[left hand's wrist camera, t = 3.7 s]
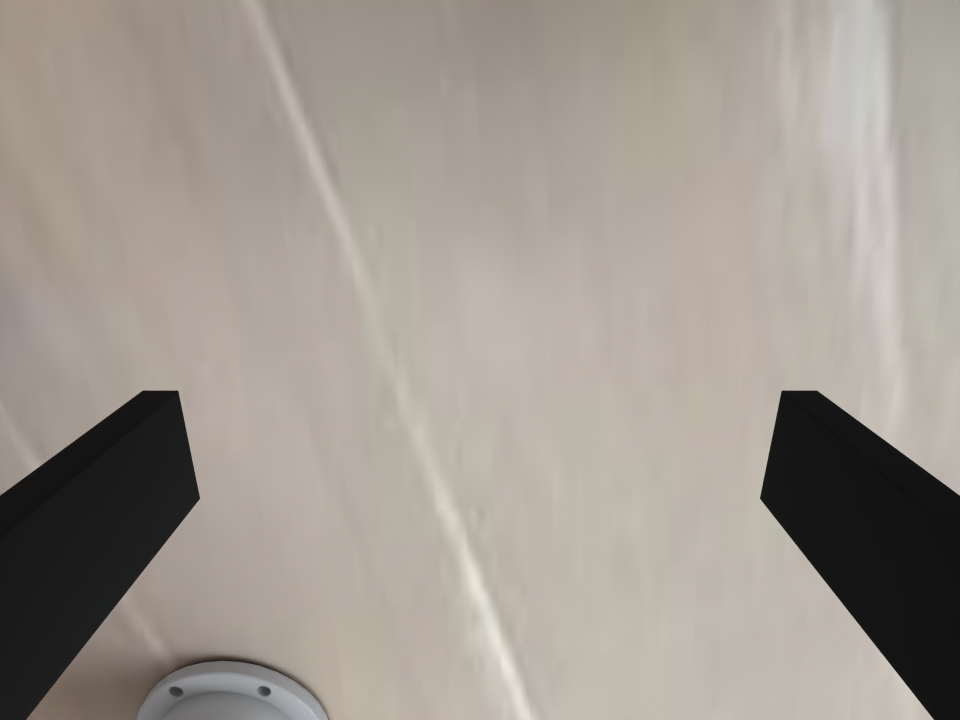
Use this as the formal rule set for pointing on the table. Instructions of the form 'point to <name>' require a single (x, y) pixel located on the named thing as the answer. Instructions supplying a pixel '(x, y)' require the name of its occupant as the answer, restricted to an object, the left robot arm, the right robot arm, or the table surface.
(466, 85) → the table surface
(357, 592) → the table surface
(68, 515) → the left robot arm
